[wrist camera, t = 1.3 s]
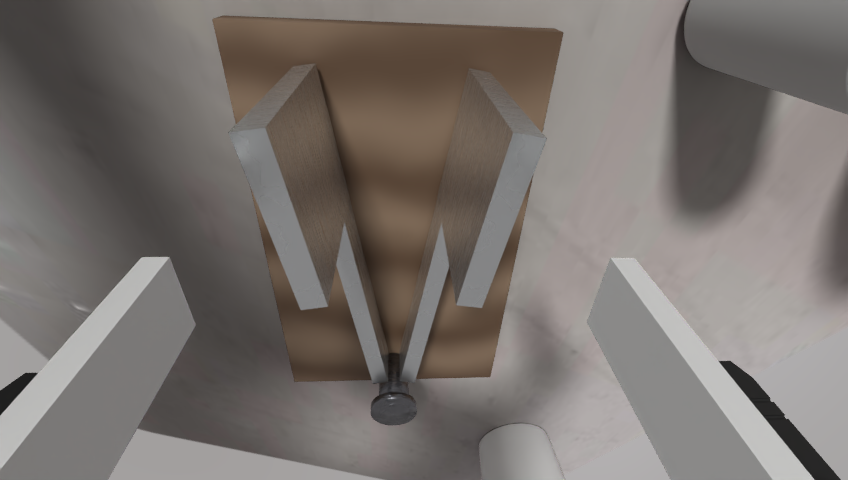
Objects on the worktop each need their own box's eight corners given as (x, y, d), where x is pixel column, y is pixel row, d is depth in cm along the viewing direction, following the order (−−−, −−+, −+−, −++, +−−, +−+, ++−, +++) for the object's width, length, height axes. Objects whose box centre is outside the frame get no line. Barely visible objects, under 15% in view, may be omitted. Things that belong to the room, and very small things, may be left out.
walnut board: (223, 15, 21) (212, 18, 20) (554, 28, 23) (563, 32, 21) (297, 367, 38) (294, 381, 36) (487, 363, 39) (490, 377, 38)
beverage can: (706, 88, 25) (908, 171, 15) (654, 10, 22) (859, 47, 12) (813, 0, 23) (1138, 30, 13) (770, -101, 20) (1139, -162, 10)
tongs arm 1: (388, 350, 34) (386, 473, 26) (374, 352, 34) (367, 475, 26) (315, 63, 21) (265, 127, 13) (293, 66, 21) (228, 132, 13)
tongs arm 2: (413, 351, 34) (418, 473, 26) (399, 350, 34) (400, 472, 26) (490, 72, 22) (546, 138, 14) (468, 67, 22) (513, 132, 13)
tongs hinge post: (413, 374, 37) (416, 425, 33) (374, 374, 37) (371, 427, 32) (414, 347, 35) (417, 399, 31) (372, 348, 35) (369, 400, 30)
